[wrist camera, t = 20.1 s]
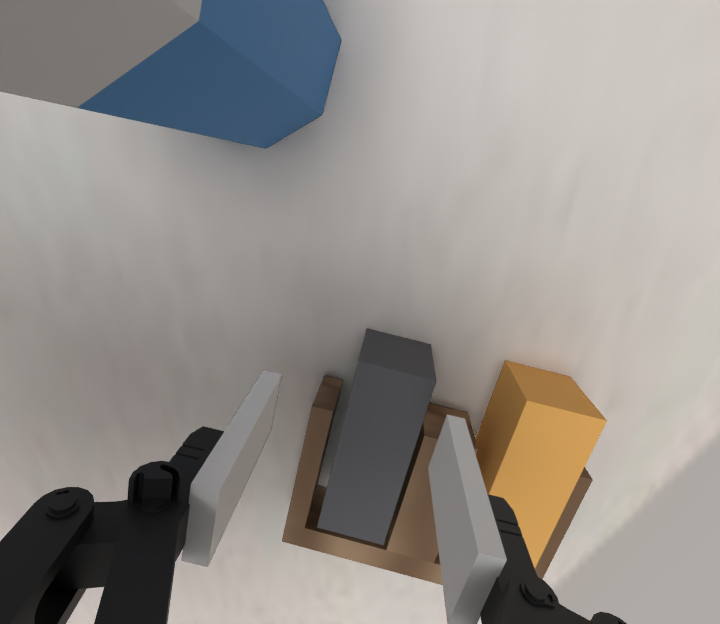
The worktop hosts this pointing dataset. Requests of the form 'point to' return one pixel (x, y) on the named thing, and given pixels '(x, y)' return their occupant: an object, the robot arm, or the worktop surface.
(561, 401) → the tall orange brick
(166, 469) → the robot arm
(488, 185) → the worktop surface
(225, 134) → the blue water bottle
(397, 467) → the tall gray prism
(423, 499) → the bronze desk organizer
